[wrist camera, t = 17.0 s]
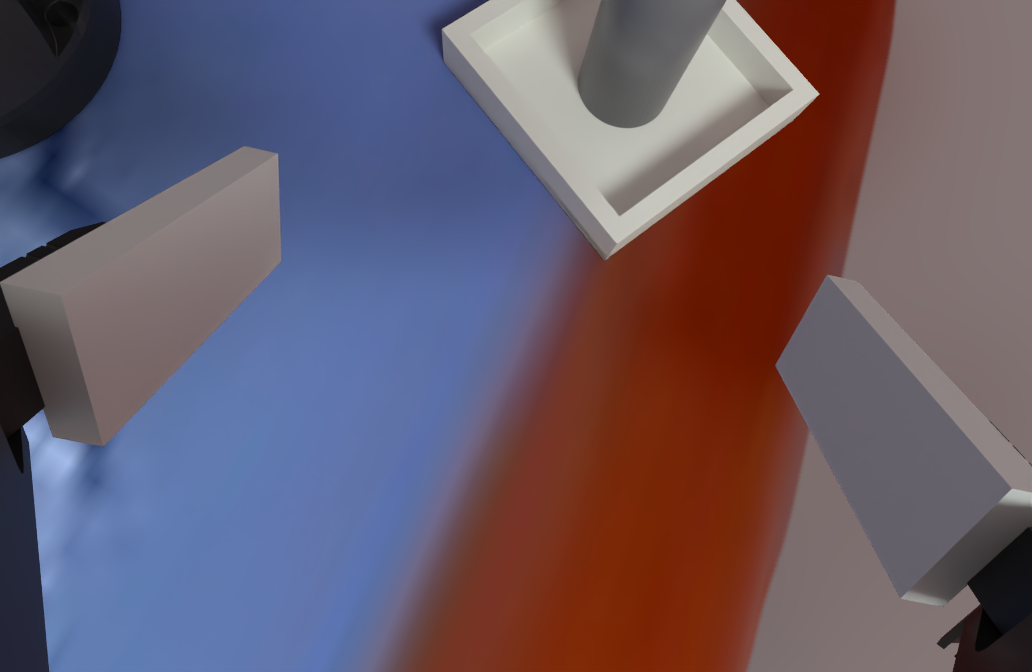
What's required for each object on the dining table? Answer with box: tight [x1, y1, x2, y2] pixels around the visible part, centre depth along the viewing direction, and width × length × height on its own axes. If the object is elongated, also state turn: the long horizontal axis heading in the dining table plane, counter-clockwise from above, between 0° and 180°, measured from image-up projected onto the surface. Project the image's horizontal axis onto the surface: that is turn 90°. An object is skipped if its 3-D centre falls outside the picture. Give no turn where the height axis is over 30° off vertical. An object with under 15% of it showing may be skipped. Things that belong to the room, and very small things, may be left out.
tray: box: [442, 0, 819, 261], centre depth 30 cm, size 14×14×2 cm
